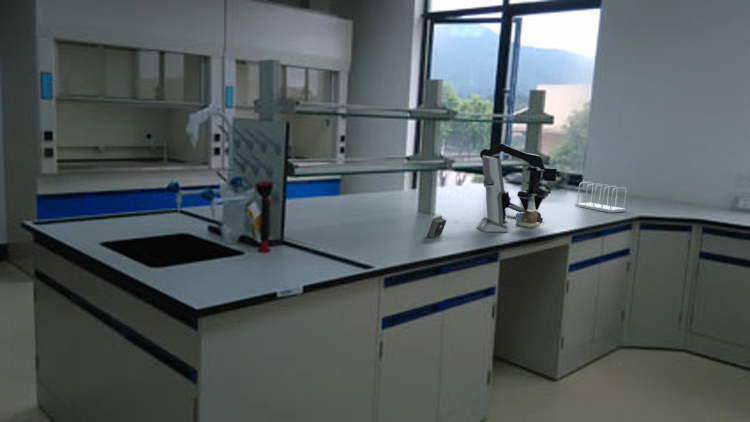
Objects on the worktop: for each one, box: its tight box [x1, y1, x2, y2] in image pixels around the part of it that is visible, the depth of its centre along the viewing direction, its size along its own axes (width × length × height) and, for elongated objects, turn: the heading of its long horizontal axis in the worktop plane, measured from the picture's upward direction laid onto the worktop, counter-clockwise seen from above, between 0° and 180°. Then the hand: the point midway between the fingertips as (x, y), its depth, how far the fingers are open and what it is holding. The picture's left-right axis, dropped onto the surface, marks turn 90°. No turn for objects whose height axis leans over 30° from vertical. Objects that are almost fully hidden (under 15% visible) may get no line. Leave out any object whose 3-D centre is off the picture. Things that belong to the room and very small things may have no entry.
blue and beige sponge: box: [515, 212, 540, 228], centre depth 306 cm, size 7×11×6 cm, turn 130°
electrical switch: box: [424, 215, 447, 239], centre depth 263 cm, size 9×5×9 cm, turn 147°
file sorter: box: [575, 181, 628, 213], centre depth 378 cm, size 25×17×16 cm
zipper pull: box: [507, 202, 544, 223], centre depth 325 cm, size 9×7×25 cm
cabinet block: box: [523, 209, 539, 224], centre depth 305 cm, size 6×5×6 cm
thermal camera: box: [476, 156, 508, 233], centre depth 285 cm, size 12×13×35 cm
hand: (531, 210), depth 305 cm, fingers open, 9 cm apart
